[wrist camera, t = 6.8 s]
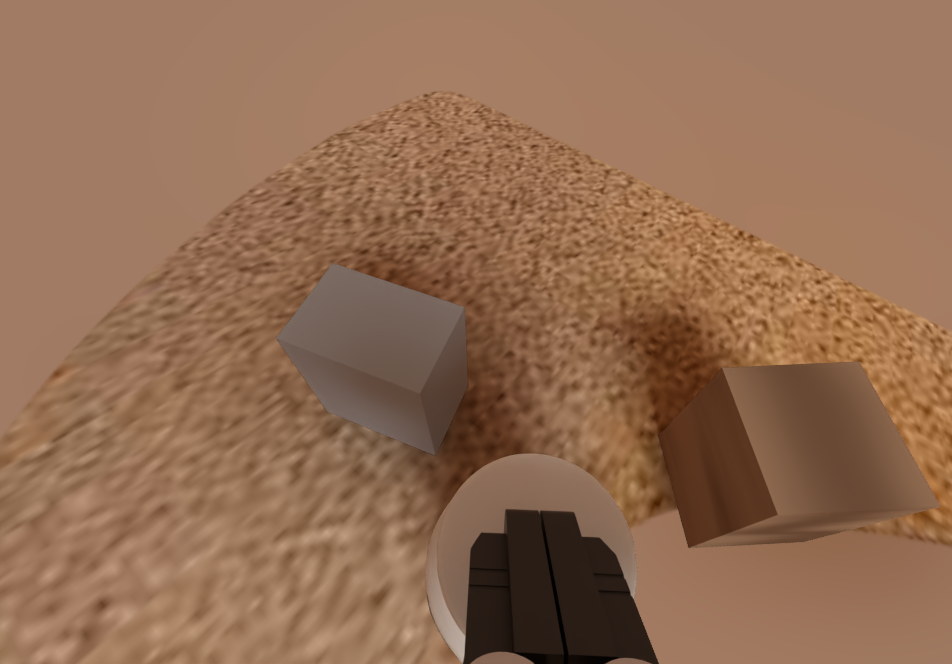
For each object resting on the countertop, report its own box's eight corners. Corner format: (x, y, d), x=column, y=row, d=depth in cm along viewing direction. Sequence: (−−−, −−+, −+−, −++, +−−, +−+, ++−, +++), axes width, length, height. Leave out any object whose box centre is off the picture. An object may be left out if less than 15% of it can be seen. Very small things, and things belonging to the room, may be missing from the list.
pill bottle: (426, 533, 20) (389, 465, 12) (549, 494, 21) (596, 406, 13) (461, 692, 17) (445, 752, 9) (603, 639, 18) (711, 648, 10)
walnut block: (759, 430, 23) (858, 361, 17) (803, 541, 20) (940, 506, 14) (658, 435, 22) (722, 367, 17) (688, 548, 20) (778, 514, 14)
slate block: (468, 385, 24) (464, 307, 18) (435, 456, 22) (419, 393, 16) (366, 348, 25) (332, 263, 19) (327, 411, 23) (276, 338, 17)
